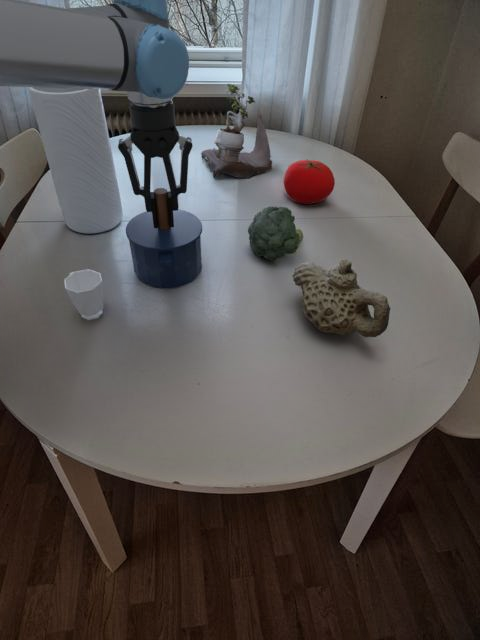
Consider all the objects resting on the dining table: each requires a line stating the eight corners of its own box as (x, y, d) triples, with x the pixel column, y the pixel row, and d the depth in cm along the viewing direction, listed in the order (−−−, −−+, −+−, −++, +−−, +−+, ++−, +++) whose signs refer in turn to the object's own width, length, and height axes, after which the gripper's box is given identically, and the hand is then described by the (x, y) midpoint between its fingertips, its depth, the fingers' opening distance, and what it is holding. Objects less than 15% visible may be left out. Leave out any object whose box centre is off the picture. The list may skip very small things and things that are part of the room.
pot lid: (124, 255, 83) (116, 213, 76) (128, 214, 94) (121, 174, 88) (205, 251, 85) (204, 209, 78) (199, 211, 96) (198, 172, 89)
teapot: (272, 309, 87) (279, 246, 76) (311, 286, 92) (323, 225, 82) (356, 373, 75) (377, 309, 65) (395, 343, 81) (420, 280, 70)
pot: (133, 299, 87) (126, 261, 81) (136, 244, 102) (130, 208, 95) (204, 294, 89) (203, 256, 83) (198, 241, 104) (196, 205, 97)
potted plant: (196, 163, 141) (210, 78, 129) (248, 172, 149) (265, 92, 137) (214, 179, 125) (231, 84, 114) (271, 187, 133) (293, 99, 121)
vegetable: (324, 251, 98) (283, 245, 88) (282, 271, 107) (241, 268, 96) (311, 202, 100) (269, 191, 90) (271, 225, 109) (229, 218, 98)
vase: (135, 214, 112) (114, 80, 90) (100, 241, 102) (67, 98, 81) (90, 202, 116) (60, 70, 94) (52, 226, 106) (9, 86, 85)
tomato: (271, 195, 122) (274, 159, 115) (302, 183, 128) (307, 148, 121) (309, 215, 114) (315, 178, 107) (339, 201, 121) (347, 165, 113)
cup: (84, 330, 81) (74, 297, 75) (59, 303, 86) (48, 271, 80) (117, 313, 84) (109, 281, 79) (91, 289, 89) (83, 257, 84)
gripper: (196, 93, 75) (200, 213, 92) (104, 94, 73) (125, 216, 90) (199, 107, 70) (203, 232, 86) (100, 108, 68) (123, 236, 84)
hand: (164, 224), depth 88 cm, fingers closed on pot lid, 3 cm apart
